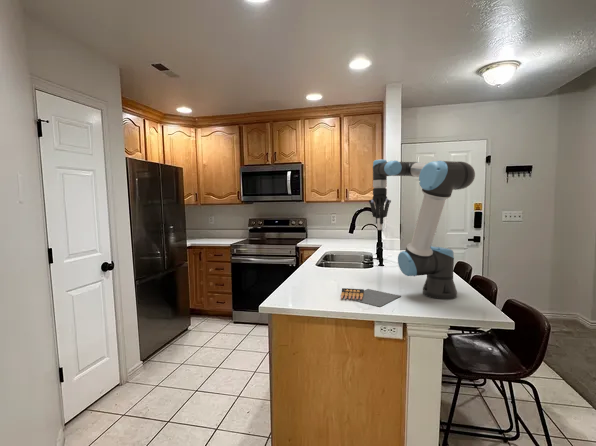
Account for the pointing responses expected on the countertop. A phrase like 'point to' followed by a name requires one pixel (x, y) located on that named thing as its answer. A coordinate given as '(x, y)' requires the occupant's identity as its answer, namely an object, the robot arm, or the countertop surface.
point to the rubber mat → (376, 298)
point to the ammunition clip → (355, 292)
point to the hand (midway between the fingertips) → (379, 229)
